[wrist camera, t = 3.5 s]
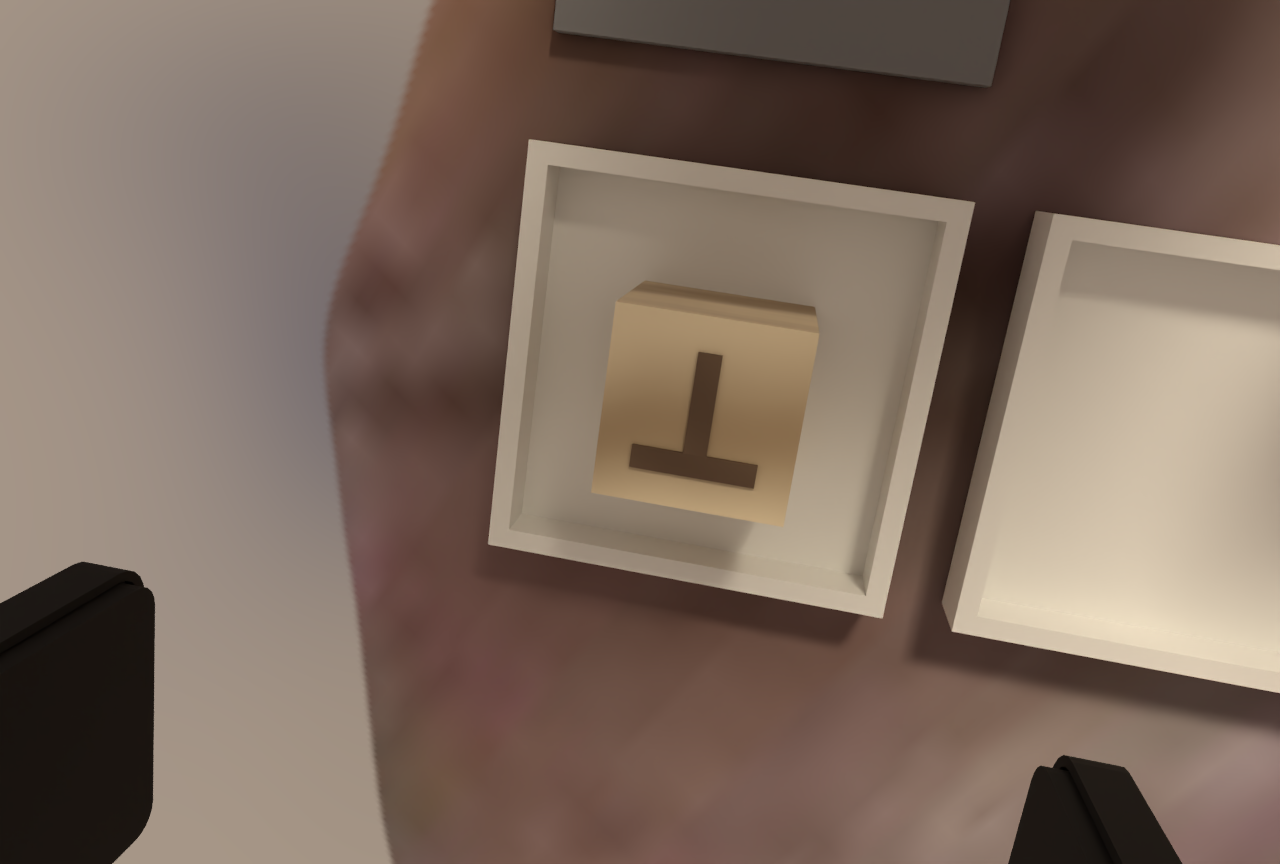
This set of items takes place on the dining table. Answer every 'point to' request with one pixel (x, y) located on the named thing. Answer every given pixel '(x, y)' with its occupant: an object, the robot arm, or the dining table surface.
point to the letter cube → (705, 401)
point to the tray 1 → (742, 265)
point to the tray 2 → (1132, 456)
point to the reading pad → (812, 32)
